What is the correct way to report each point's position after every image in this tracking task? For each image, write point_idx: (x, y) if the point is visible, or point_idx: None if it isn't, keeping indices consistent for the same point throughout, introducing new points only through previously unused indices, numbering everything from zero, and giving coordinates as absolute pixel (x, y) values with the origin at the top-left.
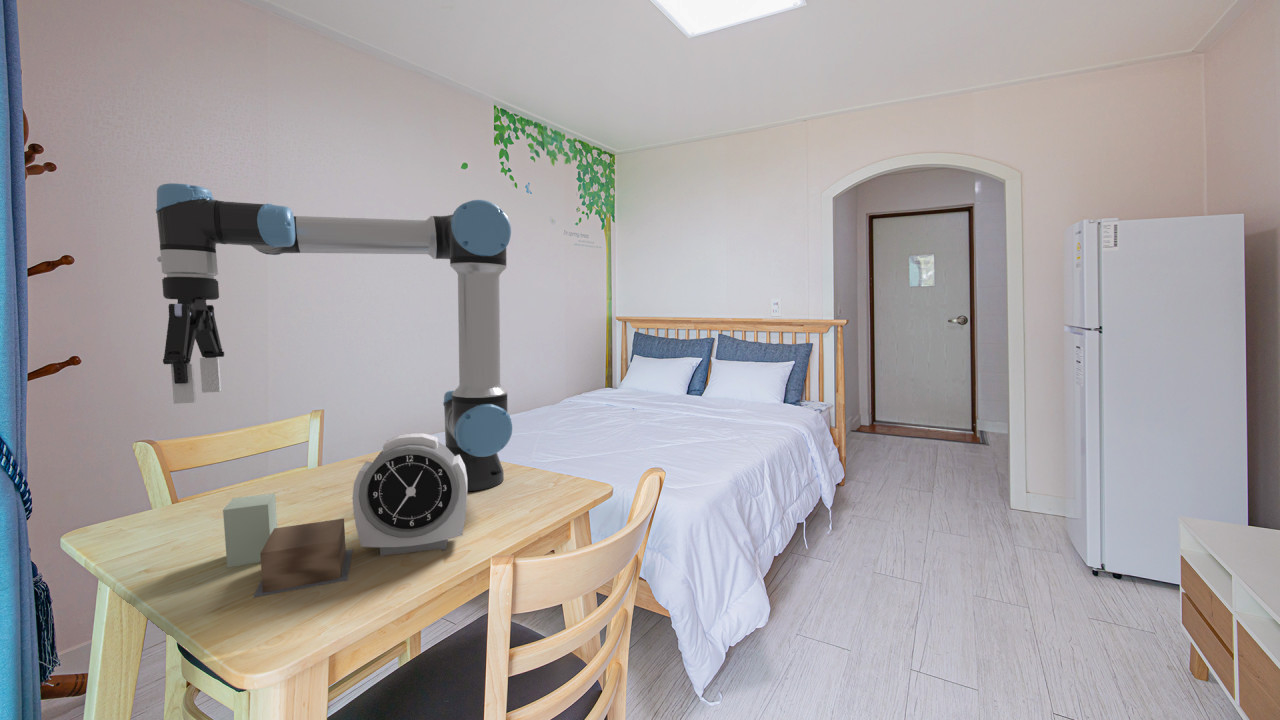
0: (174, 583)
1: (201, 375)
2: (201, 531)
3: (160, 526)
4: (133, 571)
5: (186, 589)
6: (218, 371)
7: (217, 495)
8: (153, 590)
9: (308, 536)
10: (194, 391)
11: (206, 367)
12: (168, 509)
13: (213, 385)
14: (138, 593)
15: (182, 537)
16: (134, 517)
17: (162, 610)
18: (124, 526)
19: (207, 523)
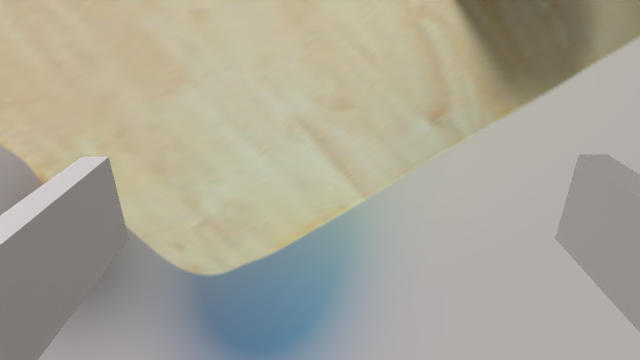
0: (527, 50)
1: (70, 314)
2: (263, 87)
3: (204, 170)
4: (429, 134)
5: (569, 20)
6: (9, 234)
7: (13, 127)
8: (537, 74)
9: None
10: (631, 184)
11: (11, 337)
12: None
13: (93, 208)
14: (535, 93)
15: (286, 111)
16: (136, 229)
17: (636, 32)
18: (185, 226)
19: (214, 90)
